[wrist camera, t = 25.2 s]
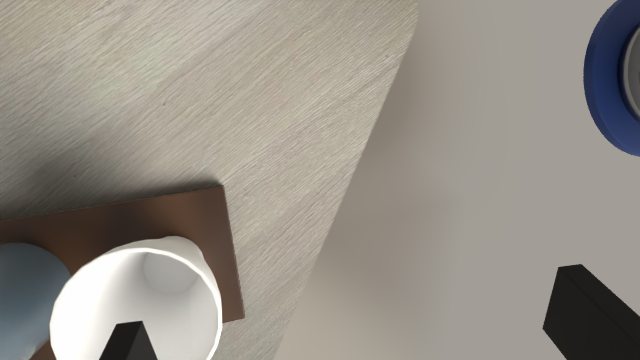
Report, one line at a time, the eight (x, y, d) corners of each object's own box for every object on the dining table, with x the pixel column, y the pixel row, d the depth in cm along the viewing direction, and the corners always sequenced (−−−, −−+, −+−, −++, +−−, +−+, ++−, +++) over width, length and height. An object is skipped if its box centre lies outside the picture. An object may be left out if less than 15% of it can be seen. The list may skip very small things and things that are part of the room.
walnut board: (223, 185, 40) (223, 186, 38) (244, 312, 41) (245, 318, 40) (-219, 253, 32) (-240, 258, 31) (-174, 405, 34) (-193, 416, 32)
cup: (180, 191, 38) (150, 213, 24) (248, 269, 40) (254, 328, 26) (91, 261, 36) (8, 323, 23) (165, 337, 38) (128, 435, 25)
